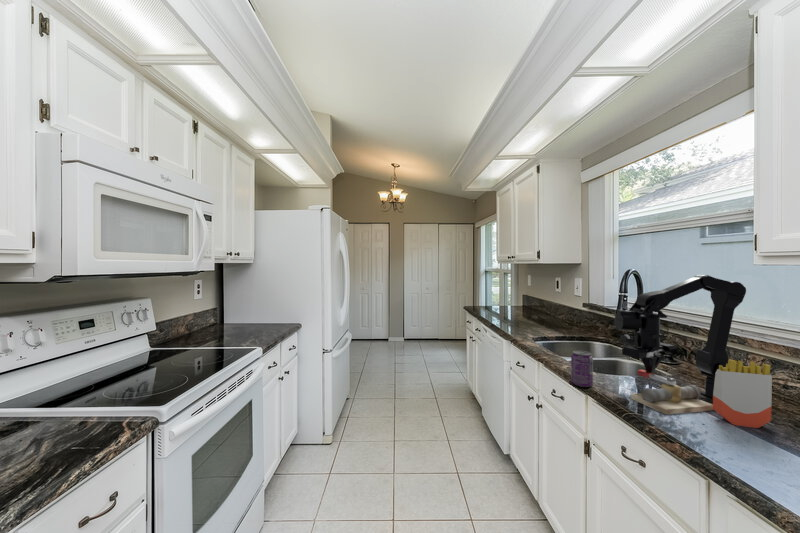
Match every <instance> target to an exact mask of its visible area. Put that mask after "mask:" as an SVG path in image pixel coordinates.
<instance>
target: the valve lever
mask: <svg viewBox="0 0 800 533" xmlns="http://www.w3.org/2000/svg"><path fill="white" fill-rule="evenodd" d="M637 375H638V376H641V377H644V378H646V379H653V380H654V381H657V382H660V383H661V382H662V383H667V384H668V385H670V386H674V385H677V381H676V378H674V377H663V376H661V375H658V374H654V372H653V373H652V372H649V371H646V369H637Z"/></svg>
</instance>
